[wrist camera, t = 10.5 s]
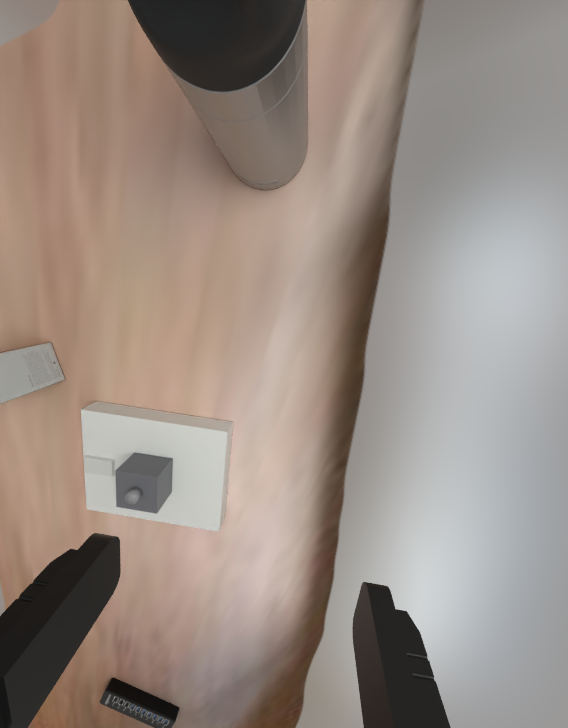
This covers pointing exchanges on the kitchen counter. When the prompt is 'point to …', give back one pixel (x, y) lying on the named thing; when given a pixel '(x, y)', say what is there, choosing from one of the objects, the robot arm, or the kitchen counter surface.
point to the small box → (28, 370)
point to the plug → (144, 482)
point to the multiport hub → (139, 704)
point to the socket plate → (166, 439)
